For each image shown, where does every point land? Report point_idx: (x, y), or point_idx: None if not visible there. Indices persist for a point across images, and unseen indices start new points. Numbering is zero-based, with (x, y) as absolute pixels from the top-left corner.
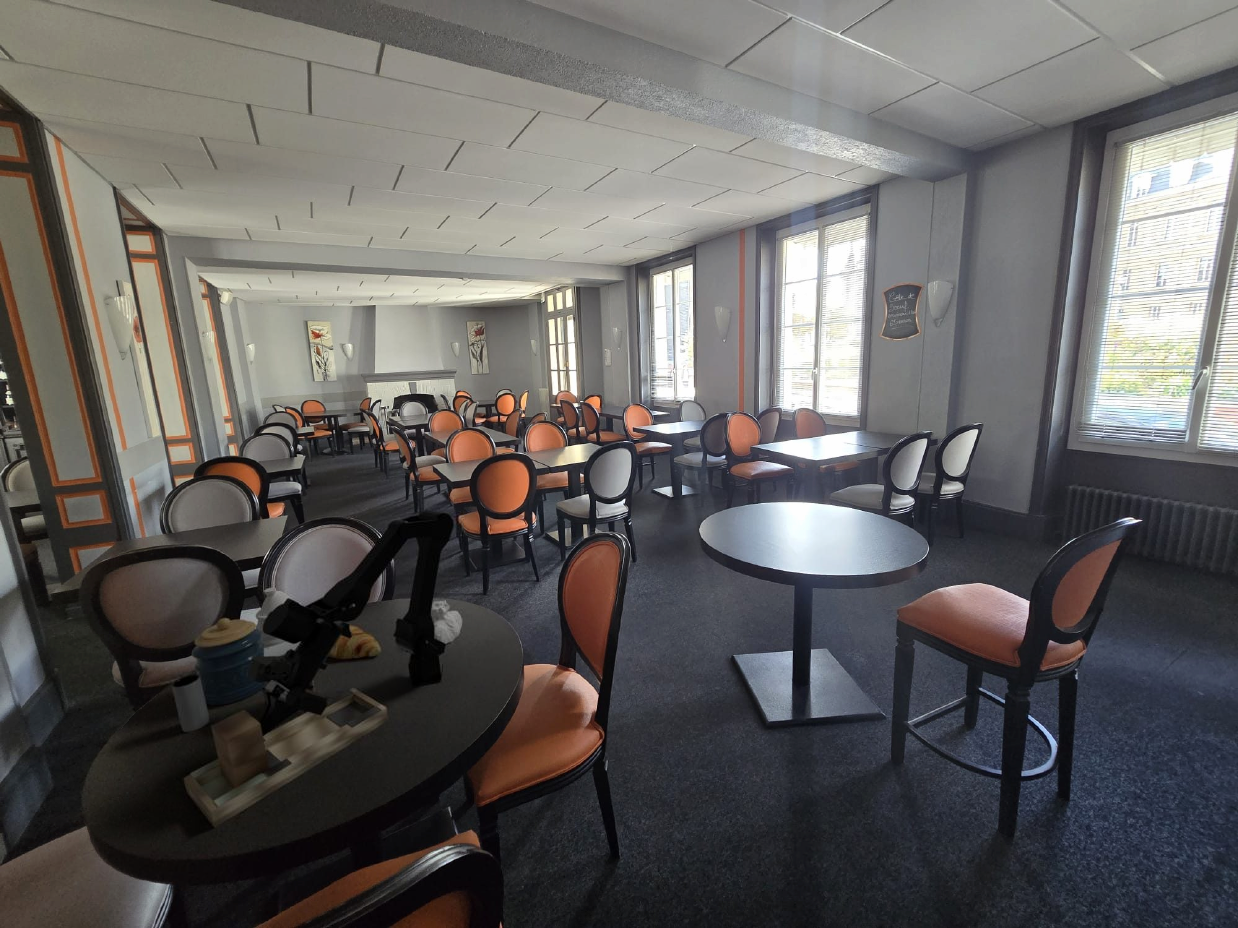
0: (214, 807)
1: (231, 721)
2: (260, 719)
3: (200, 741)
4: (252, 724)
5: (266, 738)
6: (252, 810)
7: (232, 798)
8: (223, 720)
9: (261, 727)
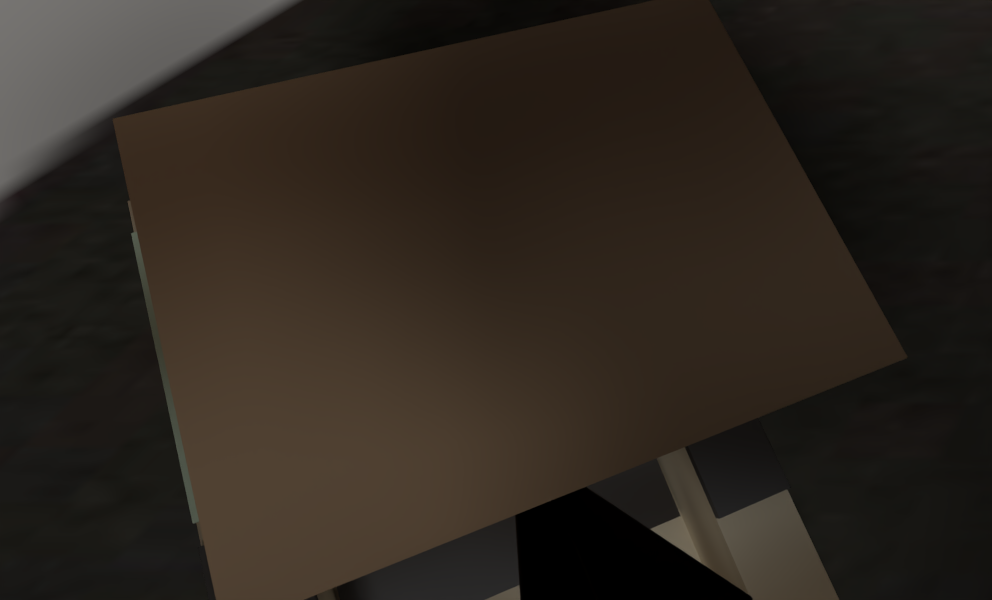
0: None
1: (649, 192)
2: (661, 568)
3: (987, 188)
4: (299, 486)
5: (740, 525)
6: (159, 418)
7: (151, 308)
8: (746, 108)
9: (523, 564)
